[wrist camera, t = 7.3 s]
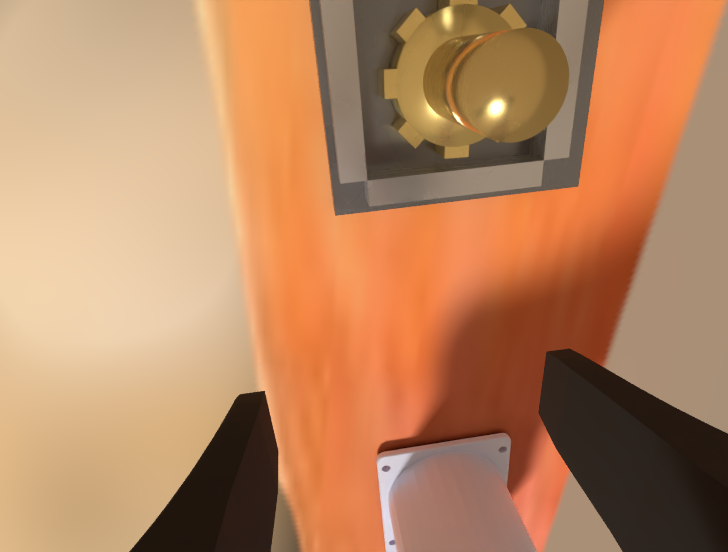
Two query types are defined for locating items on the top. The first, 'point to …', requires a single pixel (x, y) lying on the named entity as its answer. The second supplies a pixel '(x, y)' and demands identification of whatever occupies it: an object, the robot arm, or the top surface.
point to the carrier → (422, 165)
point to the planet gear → (472, 77)
